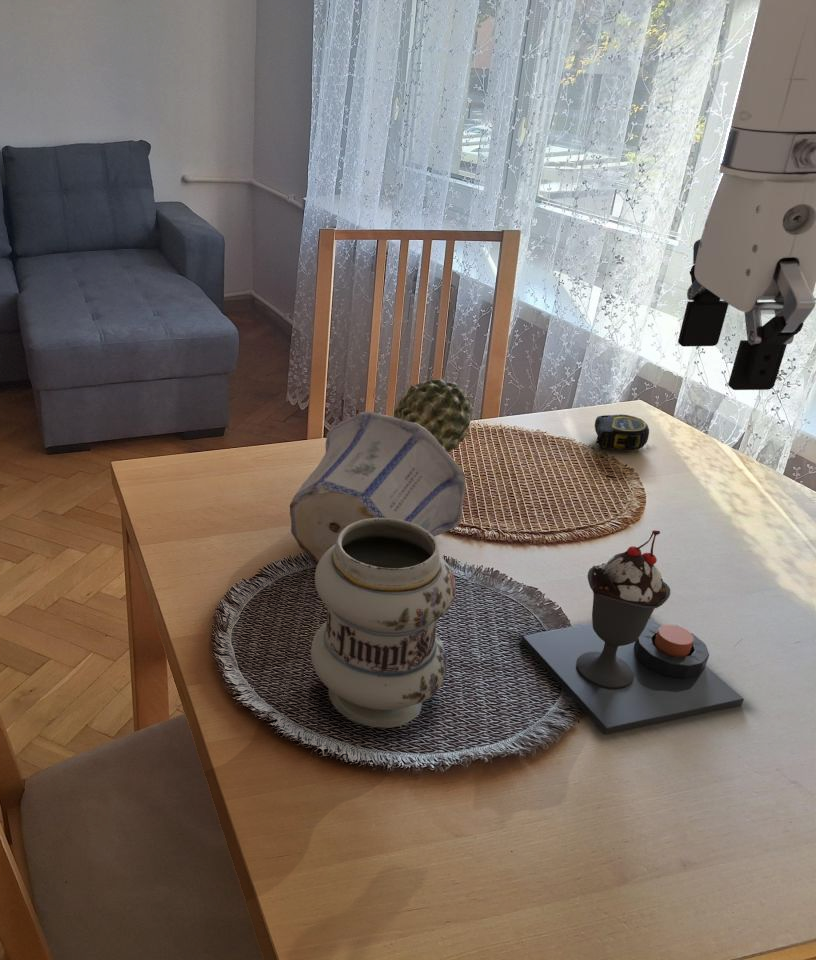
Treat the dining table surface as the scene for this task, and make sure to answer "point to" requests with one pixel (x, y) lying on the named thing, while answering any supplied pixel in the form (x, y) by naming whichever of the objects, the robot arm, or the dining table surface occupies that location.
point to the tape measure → (621, 432)
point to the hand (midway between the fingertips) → (721, 365)
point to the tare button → (674, 640)
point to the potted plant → (388, 469)
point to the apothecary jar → (382, 620)
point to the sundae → (621, 611)
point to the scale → (655, 687)
